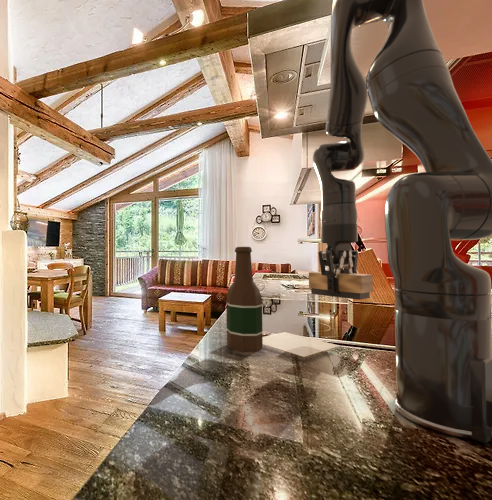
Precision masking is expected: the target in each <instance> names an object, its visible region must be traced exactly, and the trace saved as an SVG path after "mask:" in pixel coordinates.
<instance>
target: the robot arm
mask: <svg viewBox="0 0 492 500" xmlns="http://www.w3.org/2000/svg"><path fill="white" fill-rule="evenodd" d="M330 11H331V12H330V49H329V50H330V55H329V56H330V57H329V58H330V64H329V65H330V66H329V67H330V86H329V88H330V90H329V98H328V99H329V100H328V108H327V114H326V121H325V133H326V134H327V135H329V136H331V137H335V138H342V139H343V138H344V139H347V140H345V141H336V142H329V143H328V142H327V143H322V144H320V145H318V146H317V147H316V148H315V149H314V151H313V153H312V163H313V167H314V170H315V173H316V175H317V178H318V182H319V185H320V192H321V210H320V242H321V243H322V244H326V249H325V250H319V251H318V259H319V267H320V272H321V274H322V275H325V276H326V278H327V287H328V293H330V294H338V293H339V281H338V279H337V278H338V277H339V273H354V274H357V270H358V269H357V268H358V258H359V251H358V250H352V245H351V244H354V243H357V242H358V241H359V239H358V236H359V235H358V210H357V204H356V203H357V195H356V194H357V193H356V192H357V191H356V183H355V181H353V180H351V179H344V178H338V177H335V176H334V175H333V173H337V172H348V171H354V170H357V169H358V168H359V167H360V166H361V165H362V164H363V162H364V160H365V147H364V142H363V121H364V118H365V112H366V108H367V103H368V100H369V103H370V106H371V109H372V113H373V115H374V117H375V119H376V120H377V122H378V123H379V124H380V125H381V126H382V127H383V128H384V130H386V131H387V132H389V133H390V135H392V136H393V137H394V138H396V139H397V140H398V141H399V142H400V143H402V144H403V145H404V146H406V147H407V148H408V149H409V150H410V151H411V152H412V153H413V154H414V155H415V157H416V158H417V159H418V160H419V162H420V163H421V165H422V167H423V169H424V171H423V172H414V173H409V174H406V175H403V176H402V177H400V178H399V179H398V180H397V181H396V182H395V183H393V185H392V186H391V188H390V189H389V191H388V194H387V196H386V199H385V204H384V205H385V206H384V229H385V238H386V239H385V240H386V252H387V262H388V267H389V270H390V272H391V275H392V278H393V285H394V287H393V288H394V289H393V290H394V292H393V293H394V294H393V295H394V344H395V346H394V347H395V348H394V349H395V385H396V386H395V397H396V398H395V409H396V411H397V412H398V413H399V414H400V415H402V416H403V417H404V418H406V419H408V420H410V421H411V422H413V423H415V424H417V425H420V426H422V427H424V428H427V429H430V430H433V431H435V432H437V433H442V434H445V435H449V436H453V437H457V438H464V439H469V440H474V441H476V442H478V443H482V444H486V445H487V444H488V443H489V442H490V441H491V440H492V280H491V275H490V274H489V272H487V271H486V270H484V269H481V268H479V267H476V266H473V265H471V264H468V263H466V262H464V261H463V260H461V259H460V258H459V257H458V256H456V254H455V252H454V249H453V247H452V241H475V240H482V239H485V238H488V237H490V236H492V158H491V157H490V155H489V154H488V152H487V151H486V149H485V147H484V145H482V142H481V141H480V139H479V137H478V136H477V134H476V132H475V129H473V126H472V124H471V122H470V120H469V117H468V115H467V113H466V110H465V108H464V106H463V104H462V101H461V99H460V97H459V95H458V93H457V90H456V88H455V85H454V82H453V79H452V75H451V72H450V70H449V69H450V68H449V67H448V65H447V62H446V60H445V57H444V55H443V53H442V50H441V49H440V47H439V43H438V42H437V39H436V37H435V34H434V32H433V29H432V27H431V24H430V20H429V18H428V15H427V11H426V7H425V4H424V0H331V9H330ZM377 22H383V23H385V25H386V27H387V31H388V33H387V35H386V37H385V39H384V41H383V43H382V45H381V47H380V48H379V49H378V51H377V53H376V55H375V56H374V59H373V60H372V62H371V64H370V66H369V69H368V71H367V74H366V78H365V76H364V74H363V72H362V70H361V68H359V67H360V66H359V65H358V63H357V61H356V58H355V56H354V54H353V49H352V34H353V29H355V28H358V27H361V26H365V25H369V24H372V23H377Z"/></svg>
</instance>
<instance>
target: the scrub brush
mask: <svg viewBox="0 0 492 500" xmlns="http://www.w3.org/2000/svg"><path fill="white" fill-rule="evenodd" d="M337 279H338V281H339V293H338V294H330V293H328V287H327V278H326V276H325V275H322V274H321V271H312V272H308V289H310V293H311V295H318V296H325V297H334V298H341V299H342V298H343V299H350V300H359V301H360V300H366V299H370V298H371V297H370V296H371V293H372V292H373V291H374V286H373V285H374V283H373V280H374V279H373V274H369V273H356V274H354V273H339V277H338V278H337Z"/></svg>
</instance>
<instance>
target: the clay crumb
mask: <svg viewBox="0 0 492 500" xmlns="http://www.w3.org/2000/svg"><path fill="white" fill-rule="evenodd" d="M269 335H272V332H269V331H266V330H262V336H263V337H265V336H269Z"/></svg>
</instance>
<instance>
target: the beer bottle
mask: <svg viewBox="0 0 492 500" xmlns="http://www.w3.org/2000/svg"><path fill="white" fill-rule="evenodd" d="M234 252H235V268H234V270H235V271H234V278H233V282H232V283H231V285H230V287H229V288H228V291H227V293H226V345H227V346H228V347H229V349H230V350H234V351H237V352H241V353H257V352H260V351H261V350H263V346H264V345H263V337H264V336H262V331H263V300H262V293H261V292H260V289H259V287H258V286H257V285H256V283H255V282H254V277H253V267H252V255H251V254H252V252H253V250H252V247H251V246H236V247H235V249H234Z"/></svg>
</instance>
